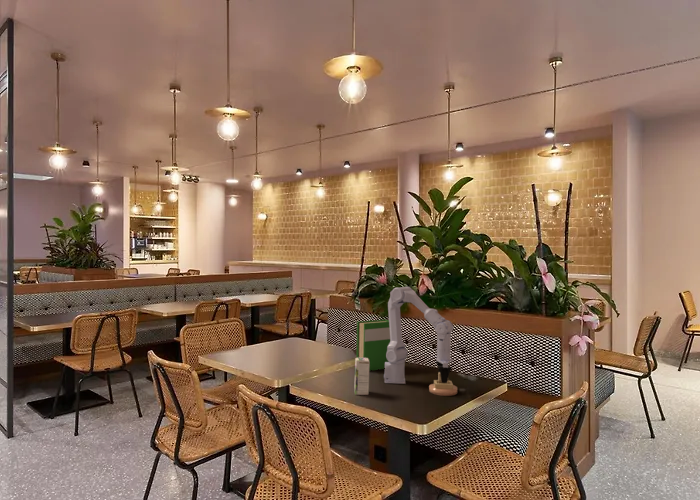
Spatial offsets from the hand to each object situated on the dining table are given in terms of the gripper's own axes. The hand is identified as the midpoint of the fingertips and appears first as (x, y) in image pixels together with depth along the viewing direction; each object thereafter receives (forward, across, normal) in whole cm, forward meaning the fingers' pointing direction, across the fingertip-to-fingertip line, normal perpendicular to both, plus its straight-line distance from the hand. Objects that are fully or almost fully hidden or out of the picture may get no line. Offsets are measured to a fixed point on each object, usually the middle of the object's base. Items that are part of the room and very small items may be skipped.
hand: (443, 380), depth 206 cm
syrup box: (+5, -7, +35) cm, 36 cm away
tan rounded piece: (+5, 0, 0) cm, 5 cm away
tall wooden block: (+3, 0, 0) cm, 3 cm away
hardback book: (+5, +37, +31) cm, 49 cm away
